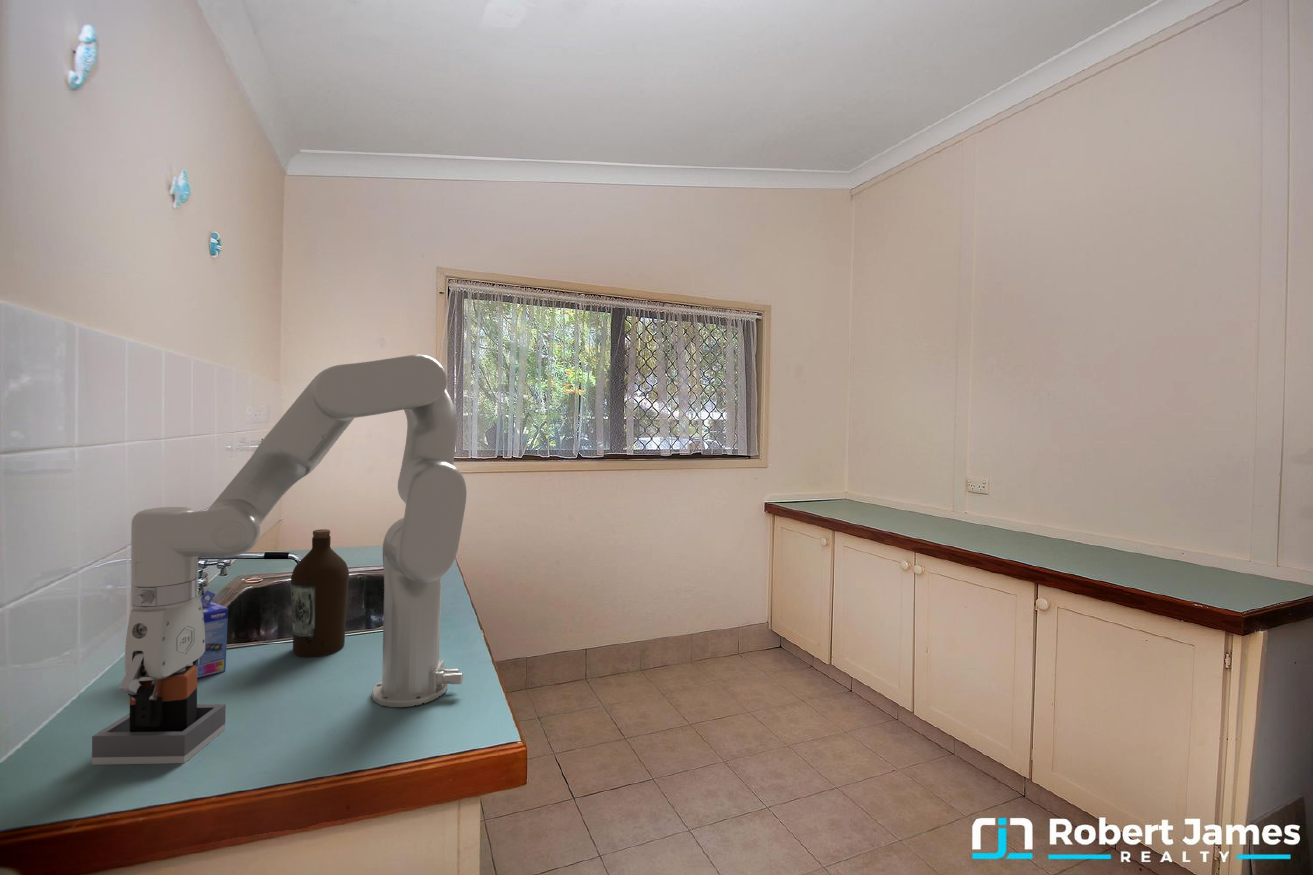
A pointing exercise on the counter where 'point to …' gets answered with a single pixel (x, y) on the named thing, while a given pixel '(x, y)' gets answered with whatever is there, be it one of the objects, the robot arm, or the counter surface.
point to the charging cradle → (157, 740)
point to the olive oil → (319, 599)
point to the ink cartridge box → (213, 637)
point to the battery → (173, 702)
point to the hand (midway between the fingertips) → (164, 713)
